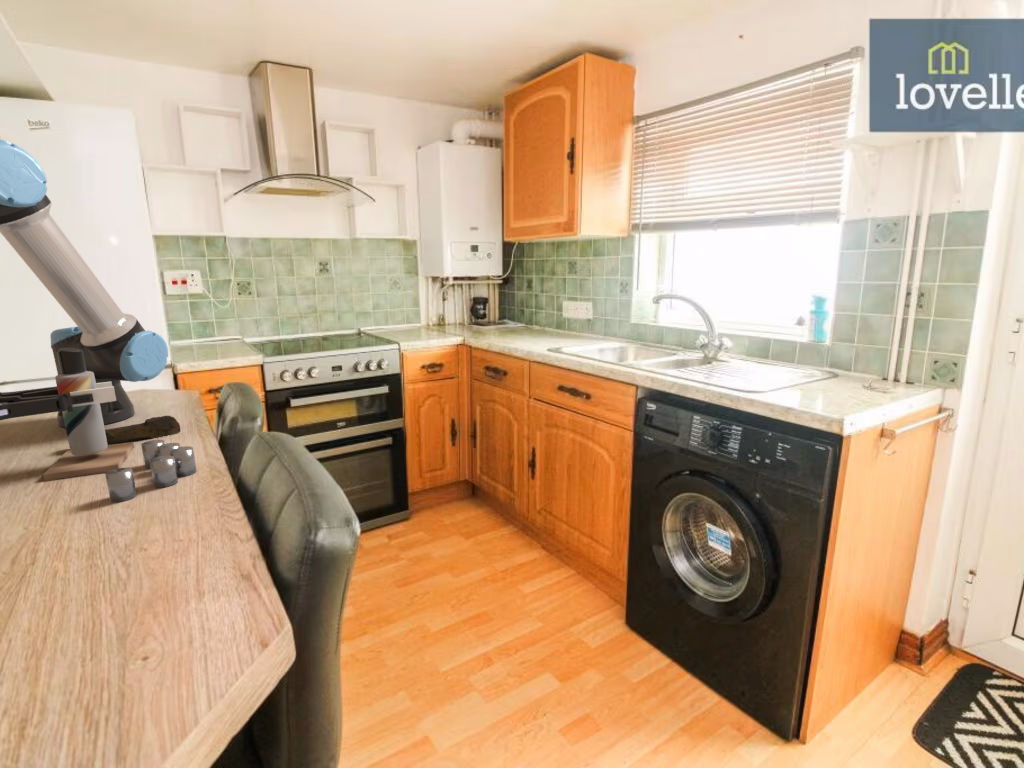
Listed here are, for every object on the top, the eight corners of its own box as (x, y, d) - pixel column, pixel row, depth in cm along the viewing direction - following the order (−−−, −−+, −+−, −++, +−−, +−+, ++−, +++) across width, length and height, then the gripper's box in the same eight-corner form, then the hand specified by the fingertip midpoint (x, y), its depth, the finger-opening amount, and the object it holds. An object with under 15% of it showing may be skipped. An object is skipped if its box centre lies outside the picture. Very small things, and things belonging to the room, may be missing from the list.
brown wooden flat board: (68, 455, 109) (67, 450, 108) (134, 447, 113) (133, 441, 113) (44, 481, 96) (42, 474, 96) (118, 470, 101) (117, 464, 100)
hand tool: (73, 454, 110) (69, 433, 109) (75, 449, 113) (70, 428, 112) (181, 437, 120) (178, 417, 119) (180, 432, 124) (177, 412, 122)
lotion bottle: (84, 446, 106) (64, 345, 102) (114, 445, 107) (96, 345, 102) (63, 456, 101) (41, 351, 96) (95, 455, 101) (75, 350, 97)
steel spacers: (131, 465, 103) (127, 443, 102) (201, 456, 107) (197, 434, 106) (107, 503, 87) (102, 477, 86) (190, 490, 91) (186, 465, 90)
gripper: (-45, 423, 98) (113, 400, 112) (-61, 448, 84) (121, 419, 99) (-55, 382, 96) (107, 365, 111) (-73, 402, 83) (114, 379, 97)
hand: (113, 390), depth 105 cm, fingers closed on lotion bottle, 5 cm apart
